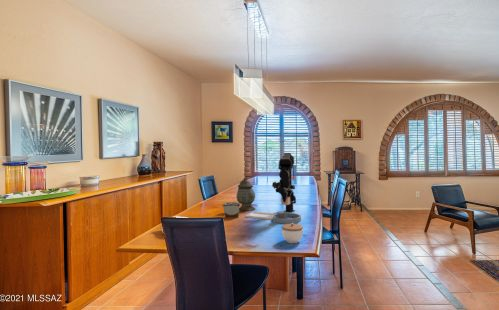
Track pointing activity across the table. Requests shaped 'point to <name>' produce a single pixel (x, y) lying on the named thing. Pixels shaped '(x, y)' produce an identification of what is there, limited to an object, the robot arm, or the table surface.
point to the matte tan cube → (285, 201)
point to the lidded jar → (292, 232)
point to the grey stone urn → (245, 195)
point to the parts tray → (260, 215)
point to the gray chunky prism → (282, 215)
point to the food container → (231, 209)
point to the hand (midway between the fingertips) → (285, 201)
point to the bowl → (288, 218)
